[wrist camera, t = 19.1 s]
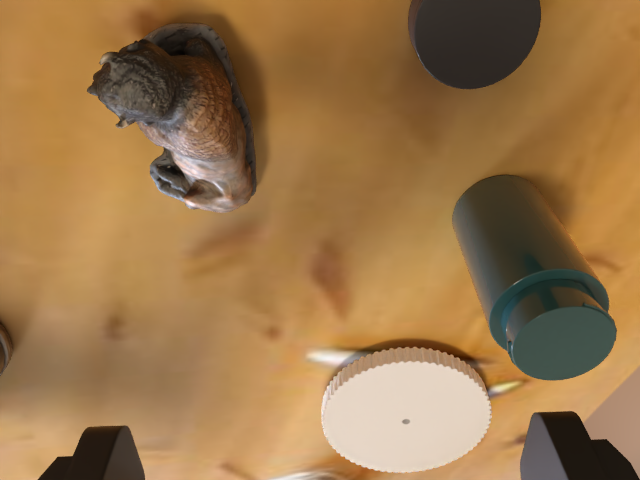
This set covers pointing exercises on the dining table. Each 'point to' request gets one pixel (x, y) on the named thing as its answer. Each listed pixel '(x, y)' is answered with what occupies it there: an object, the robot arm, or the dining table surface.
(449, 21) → the jar lid
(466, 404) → the plastic lid
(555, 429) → the robot arm
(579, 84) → the dining table surface
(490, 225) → the jar
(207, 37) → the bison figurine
